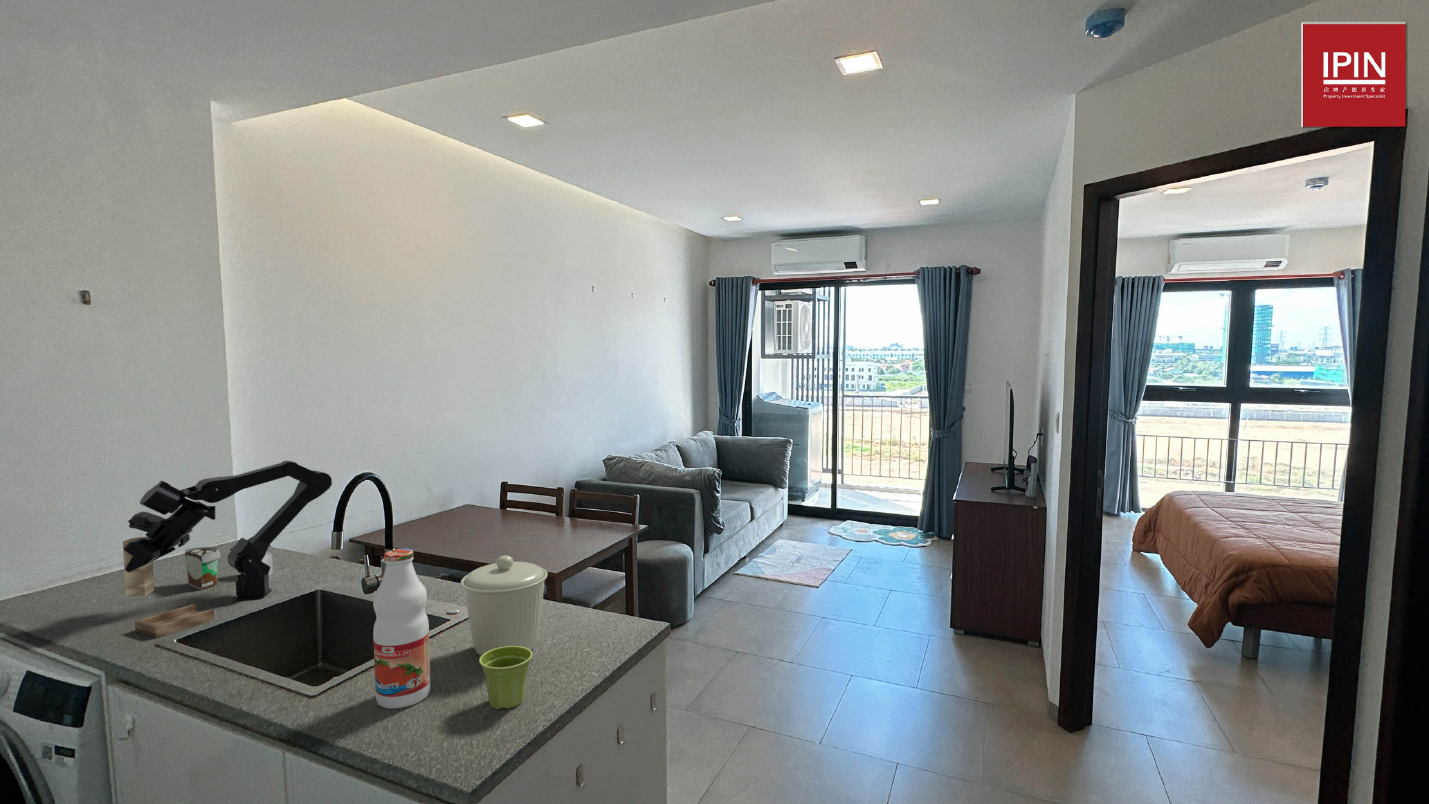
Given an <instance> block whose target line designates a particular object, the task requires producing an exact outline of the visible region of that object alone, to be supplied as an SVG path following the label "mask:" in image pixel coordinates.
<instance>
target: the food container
mask: <svg viewBox="0 0 1429 804" xmlns="http://www.w3.org/2000/svg"><path fill="white" fill-rule="evenodd" d="M221 556H222V555H221V552H220V550H219V548H218V547H214V546H201V547H193V548H186V549H185V551H184V557H185V560H186V561H185V564H186V575H187V582H188V585H189V584H190V585H189V586H192V587H194V588H196V589H198V590H201V591H204V590H208V589H210V588H213V587H215V586H216V585H217V584H218V568H219V566H218V563H219V558H221Z"/></svg>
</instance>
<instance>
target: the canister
mask: <svg viewBox="0 0 1429 804" xmlns="http://www.w3.org/2000/svg"><path fill="white" fill-rule="evenodd" d="M547 578H548V571H547V570H546V569H545V568H543V567H541V566H540V565H537V564H534V563H532V562H525V561H514V559H513V557H512V556H510V555H501V556H499V557H498V558H497V559H496V561H495V563H490V564H485V565H484V566H480V567H477V568H476V569H473V570H472V571H471V572H469V573H468V574H466V575H464V577H463V578H462V579H461V580H460V585H461V587H462V588H463V589H464V594H465V595H464V597H465V603H466V608H467V616H468V622H469V623H468V624H469V630H470V634H471V641H472V645H473V647H474V650H475V652H476V653H477V654H478V655H479V656H480V657H481V656H482V655H483V654H484V653H486V652H488V651H490V650H492V649H495V648H499V647H505V646H521V647H525V648H528V649H530V650H531V651H532V650H533V649H534V648H535V647H536V645H537V643H538V641H539V640H538V639H539V637H540V636H539V635H540V632H541V631H540V630H541V622H542V614H543V613H542V612H543V600H544V591H545V581H546V580H547Z"/></svg>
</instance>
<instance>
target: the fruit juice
mask: <svg viewBox="0 0 1429 804" xmlns="http://www.w3.org/2000/svg"><path fill="white" fill-rule="evenodd" d="M383 560H384V563H385V564H386V567H385V569H384V570H385V571H384V573H383V577H382V580H381V583H380V584H379V586H378V588H377V589H376V592H375V593H374V595H373V599H372V600H373V601H372V602H373V603H372V605H373V610H374V613H375V616H376V619H375V622H374V625H373V637H372V638H373V653H374V655H373V657H374V659H373V661H374V683H375V684H374V686H375V690H374V691H375V701H376V703H377V705H378V706H380V707H381V708H383V709H384V708H385V709H388V710H389V709H391V710H392V709H393V710H394V709H402V708H406V707H407V708H408V707H410V706H413V705H417V704H418V703H420V702H422V701H423V700H425V699H426V698H427V697H428V696H429V694H430V692H431V661H430V660H431V658H430V657H431V656H430V654H431V653H430V627H429V618H428V615H427V613H426V610H425V608H426V603H427V600H428V595H427V588H426V587H425V585H424V584H423V583H422V582H421V580H420V579H419V577H418V576H417V573H416V570H415V567H414V565H413V560H414V551H413V549H412V548H411V549H410V548H395V549H392V550H388V551H386V552H385V553H384V556H383Z"/></svg>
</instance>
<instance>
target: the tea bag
mask: <svg viewBox="0 0 1429 804" xmlns="http://www.w3.org/2000/svg"><path fill="white" fill-rule="evenodd" d="M262 562H263V563H265V564H267V565H268V566H270V570H269V573H268V575H270V576H272V575H271V574H273V575H274V564H273V554H272V552H271V550H270V549H269V548H268V549H267V552H266V554H265V556H264V558H263V559H262Z"/></svg>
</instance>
